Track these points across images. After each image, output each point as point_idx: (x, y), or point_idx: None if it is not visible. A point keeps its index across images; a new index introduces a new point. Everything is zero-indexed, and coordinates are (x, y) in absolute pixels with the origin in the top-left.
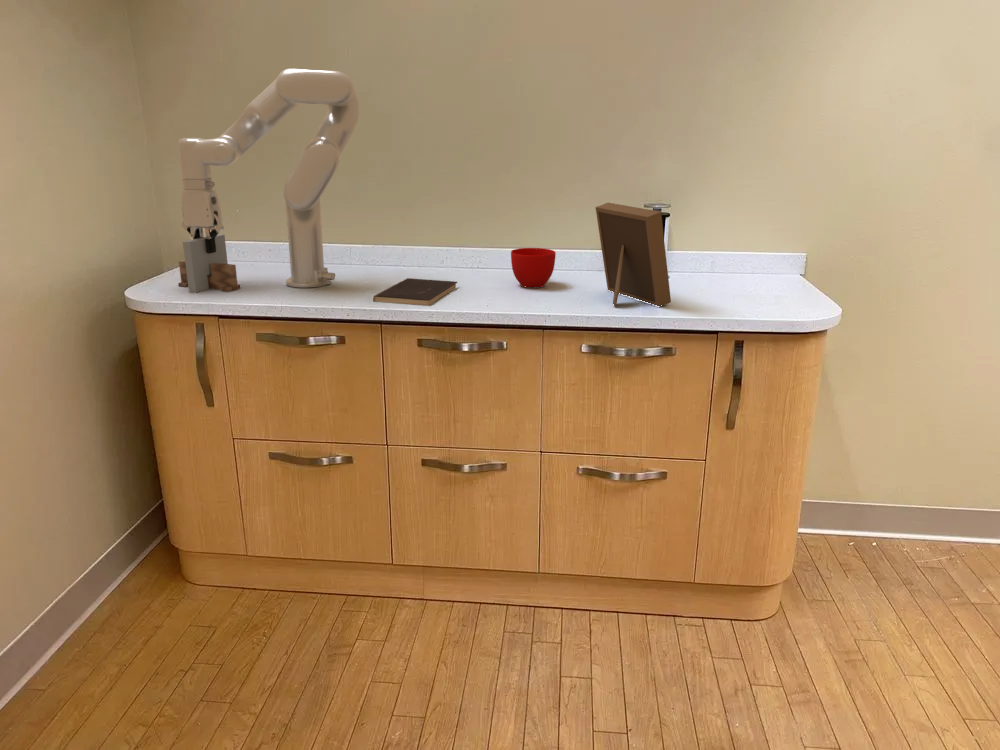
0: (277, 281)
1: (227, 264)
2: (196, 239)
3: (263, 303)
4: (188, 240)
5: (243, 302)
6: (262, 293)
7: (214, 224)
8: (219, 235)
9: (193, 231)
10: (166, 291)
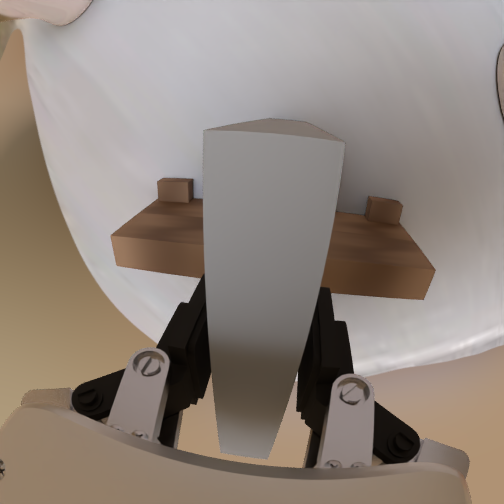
0: (460, 67)
1: (398, 275)
2: (240, 424)
3: (483, 329)
4: (222, 440)
5: (448, 338)
6: (477, 251)
7: (342, 483)
8: (303, 219)
9: (171, 443)
10: (187, 299)
